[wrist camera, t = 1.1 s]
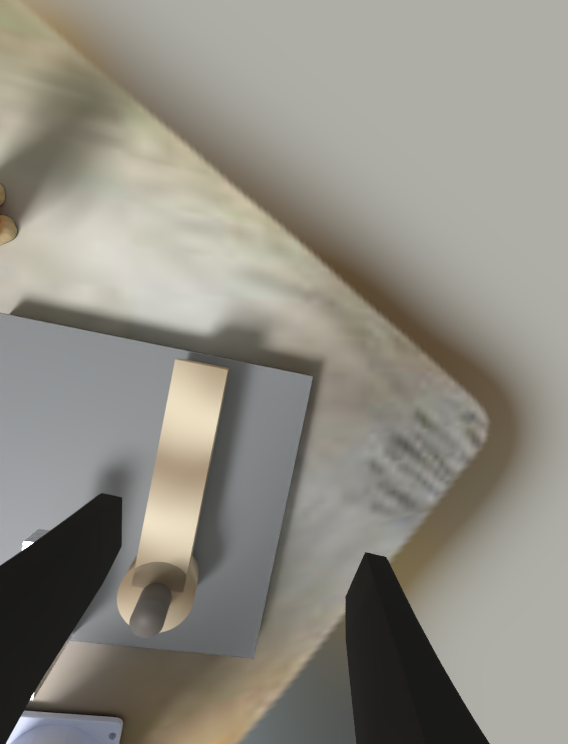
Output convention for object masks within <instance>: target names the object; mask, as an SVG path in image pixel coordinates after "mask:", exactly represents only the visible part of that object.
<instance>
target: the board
mask: <svg viewBox="0 0 568 744" xmlns="http://www.w3.org/2000/svg"><path fill="white" fill-rule="evenodd" d="M175 359H187V360H192V361H197V362H202V363H207V364H212V365H217V366H222V367H227V368H230V369H229V374H228V379H227V384H226V389H225V394H224V399H223V404H222V409H221V414H220V419H219V424H218V429H217V434H216V439H215V444H214V449H213V454H212V459H211V464H210V469H209V474H208V479H207V483H206V488H205V493H204V498H203V503H202V508H201V513H200V518H199V523H198V528H197V533H196V538H195V543H194V548H193V553H192V555H193V556H194V558H195V559H196V561H197V564H198V568H199V578H198V583H197V588H196V593H195V597H194V602H193V606H192V608H191V611H190V612H189V614H188V616H187V617H186V618H185V619H184V620H183V621H182V622H181V623H180V624H179V625H178V626H176V627H174V628H173V629H170V630H168V631H165V632H161V633H158V634H157V635H155V636H153V637H151V638H141V637H138V636H136V635H135V634H134V633H133V632H132V631H131V629H130V625H129V624H127V623H126V622H125V620H124V619H123V618H122V616H121V615H120V612H119V610H118V606H117V593H118V589H119V586H120V584H121V582H122V580H123V578H124V577H125V575H126V573H127V571H128V569H129V567H130V566H131V564H132V562H133V560H134V558H135V557H136V556H137V554H138V549H139V544H140V539H141V534H142V528H143V523H144V518H145V513H146V508H147V503H148V497H149V492H150V487H151V482H152V477H153V472H154V466H155V461H156V456H157V451H158V446H159V440H160V435H161V430H162V425H163V420H164V415H165V409H166V404H167V399H168V394H169V389H170V383H171V378H172V373H173V368H174V363H175ZM312 379H313V376H310V375H307V374H302V373H297V372H292V371H287V370H282V369H277V368H272V367H267V366H262V365H257V364H253V363H248V362H243V361H238V360H233V359H228V358H223V357H218V356H213V355H208V354H203V353H198V352H193V351H188V350H183V349H179V348H174V347H169V346H164V345H159V344H154V343H149V342H144V341H139V340H134V339H129V338H124V337H119V336H114V335H109V334H105V333H100V332H95V331H90V330H85V329H80V328H75V327H70V326H65V325H60V324H55V323H50V322H45V321H40V320H35V319H31V318H26V317H21V316H16V315H11V314H5V313H0V565H1V564H3V563H4V562H6V561H7V560H9V559H10V558H12V557H13V556H15V555H16V554H18V553H19V552H21V551H22V550H23V544H24V541H25V540H26V539H27V538H28V537H29V536H31V535H32V534H33V533H34V532H35V531H36V530H38V529H44V530H52V529H53V528H54V527H56V526H57V525H58V524H60V523H61V522H63V521H64V520H65V519H67V518H68V517H69V516H71V515H72V514H73V513H75V512H76V511H77V510H79V509H80V508H81V507H83V506H84V505H85V504H87V503H88V502H89V501H91V500H92V499H93V498H95V497H96V496H97V495H99V494H101V493H105V494H109V495H114V496H118V497H122V547H121V549H120V551H119V553H118V555H117V557H116V559H115V561H114V563H113V565H112V567H111V569H110V571H109V573H108V575H107V577H106V578H105V580H104V582H103V584H102V586H101V587H100V589H99V591H98V592H97V594H96V595H95V597H94V599H93V600H92V602H91V603H90V605H89V606H88V608H87V610H86V611H85V613H84V614H83V616H82V617H81V619H80V621H79V622H78V624H77V625H76V627H75V629H74V634H73V636H72V637H71V639H70V640H69V641H79V642H89V643H99V644H110V645H120V646H130V647H140V648H151V649H161V650H171V651H182V652H192V653H202V654H212V655H223V656H233V657H243V658H254V654H255V649H256V645H257V640H258V635H259V631H260V626H261V621H262V616H263V612H264V607H265V602H266V597H267V593H268V588H269V583H270V578H271V574H272V569H273V564H274V559H275V555H276V550H277V545H278V541H279V536H280V531H281V526H282V522H283V517H284V512H285V507H286V503H287V498H288V493H289V488H290V484H291V479H292V474H293V469H294V465H295V460H296V455H297V450H298V446H299V441H300V436H301V432H302V427H303V422H304V417H305V413H306V408H307V403H308V398H309V394H310V389H311V384H312Z"/></svg>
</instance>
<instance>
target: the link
mask: <svg viewBox="0 0 568 744" xmlns="http://www.w3.org/2000/svg"><path fill="white" fill-rule="evenodd" d="M229 369H230V368H227V367H222V366H217V365H212V364H207V363H202V362H197V361H192V360H187V359H175V363H174V368H173V373H172V378H171V383H170V389H169V394H168V399H167V404H166V409H165V415H164V420H163V425H162V430H161V435H160V440H159V446H158V451H157V456H156V461H155V466H154V472H153V477H152V482H151V487H150V492H149V497H148V503H147V508H146V513H145V518H144V523H143V528H142V534H141V539H140V544H139V549H138V554H137V556H136V557H135V558H134V560H133V562H132V564H131V566H130V567H129V569H128V571H127V573H126V575H125V577H124V578H123V580H122V582H121V584H120V586H119V589H118V593H117V606H118V610H119V612H120V615H121V616H122V618H123V619H124V620H125V622H126V623H127V624H129V625H130V629H131V631H132V632H133V633H134V634H135V635H136V636H138V637H141V638H151V637H153V636H155V635H157V634H158V633H161V632H165V631H168V630H170V629H173V628H174V627H176V626H178V625H179V624H180V623H181V622H182V621H183V620H184V619H185V618H186V617H187V616H188V614H189V612H190V611H191V608H192V606H193V602H194V597H195V593H196V588H197V583H198V578H199V568H198V564H197V561H196V559H195V558H194V556H193V555H192V553H193V548H194V543H195V538H196V533H197V528H198V523H199V518H200V513H201V508H202V503H203V498H204V493H205V488H206V483H207V479H208V474H209V469H210V464H211V459H212V454H213V449H214V444H215V439H216V434H217V429H218V424H219V419H220V414H221V409H222V404H223V399H224V394H225V389H226V384H227V379H228V374H229Z"/></svg>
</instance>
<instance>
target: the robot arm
mask: <svg viewBox="0 0 568 744" xmlns="http://www.w3.org/2000/svg"><path fill="white" fill-rule="evenodd" d="M121 547H122V497H118V496H114V495H109V494H105V493H101V494H99V495H97V496H96V497H95V498H93V499H92V500H91V501H89V502H88V503H87V504H85V505H84V506H83V507H81V508H80V509H79V510H77V511H76V512H75V513H73V514H72V515H71V516H69V517H68V518H67V519H65V520H64V521H63V522H61V523H60V524H58V525H57V526H56V527H54V528H53V529H52V530H50V531H49V532H47V533H46V534H45V535H43V536H42V537H40V538H39V539H38V540H36V541H35V542H33V543H32V544H31V545H29V546H28V547H26V548H25V549H23V550H22V551H21V552H19V553H18V554H16V555H15V556H13V557H12V558H10V559H9V560H7V561H6V562H4V563H3V564H1V565H0V744H119V742H120V737H121V732H122V727H123V721H122V719H120V718H118V717H105V716H92V715H78V714H64V713H50V712H36V711H24V710H25V708H26V706H27V704H28V702H29V700H30V699H31V697H32V695H33V694H34V692H35V690H36V689H37V687H38V685H39V684H40V682H41V680H42V679H43V677H44V675H45V674H46V672H47V671H48V669H49V668H50V666H51V664H52V663H53V661H54V660H55V658H56V657H57V655H58V653H59V652H60V650H61V649H62V647H63V646H64V644H65V643H66V641H67V639H68V638H69V636H70V635H71V633H72V632H73V630H74V628H75V627H76V625H77V624H78V622H79V621H80V619H81V617H82V616H83V614H84V613H85V611H86V610H87V608H88V606H89V605H90V603H91V602H92V600H93V599H94V597H95V595H96V594H97V592H98V591H99V589H100V587H101V586H102V584H103V582H104V580H105V578H106V577H107V575H108V573H109V571H110V569H111V567H112V565H113V563H114V561H115V559H116V557H117V555H118V553H119V551H120V549H121ZM346 645H347V656H348V666H349V676H350V686H351V696H352V705H353V715H354V724H355V734H356V743H357V744H489V742H488V740H487V739H486V737H485V736H484V734H483V733H482V731H481V730H480V728H479V726H478V725H477V723H476V722H475V720H474V719H473V717H472V715H471V713H470V712H469V710H468V709H467V707H466V705H465V704H464V702H463V700H462V699H461V697H460V695H459V693H458V692H457V690H456V688H455V687H454V685H453V683H452V682H451V680H450V678H449V676H448V675H447V673H446V671H445V669H444V668H443V666H442V664H441V663H440V661H439V659H438V657H437V655H436V653H435V652H434V650H433V648H432V646H431V644H430V642H429V640H428V638H427V637H426V635H425V633H424V631H423V629H422V627H421V626H420V624H419V622H418V620H417V618H416V616H415V614H414V612H413V610H412V608H411V606H410V604H409V602H408V600H407V598H406V596H405V594H404V592H403V590H402V588H401V586H400V584H399V582H398V580H397V578H396V576H395V574H394V572H393V570H392V568H391V566H390V563H389V561H388V560H387V558H386V557H384V556H379V555H375V554H371V553H366V552H365V554H364V556H363V559H362V561H361V563H360V565H359V568H358V570H357V572H356V574H355V577H354V579H353V581H352V584H351V586H350V588H349V590H348V593H347V595H346Z"/></svg>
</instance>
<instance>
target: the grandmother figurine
mask: <svg viewBox="0 0 568 744" xmlns="http://www.w3.org/2000/svg"><path fill="white" fill-rule="evenodd" d="M4 201H5V190H4V187H3V186H2V185H1V184H0V205H2V204H3V202H4ZM16 234H17V229H16V226H15V223H14V221H13V220H12V219H11V218H10V217H8V216H6V215H0V245H2V244H4V243H7V242H9V241H11V240H13V239H14V238H15V237H16Z"/></svg>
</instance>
